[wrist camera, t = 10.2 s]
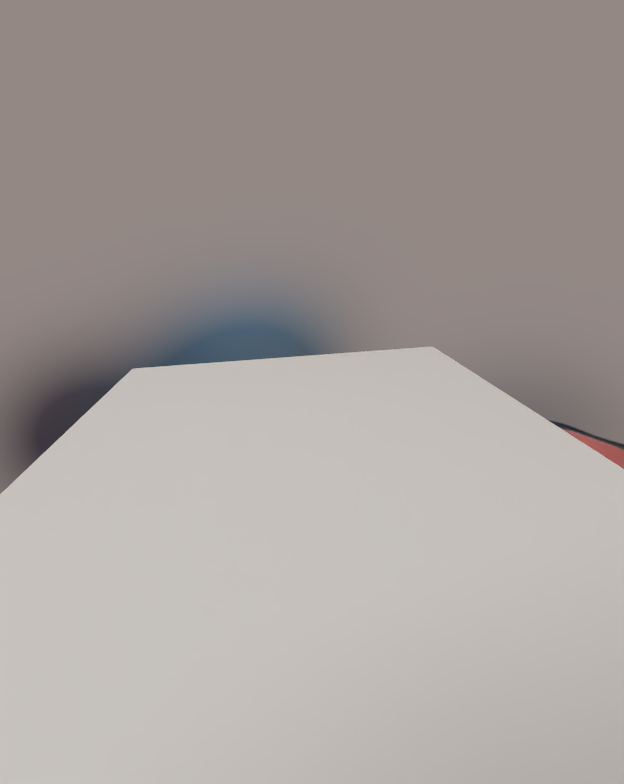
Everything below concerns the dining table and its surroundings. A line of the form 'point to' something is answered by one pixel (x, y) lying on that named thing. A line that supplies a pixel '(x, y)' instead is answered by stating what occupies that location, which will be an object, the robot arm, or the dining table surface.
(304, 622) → the tall off-white cuboid
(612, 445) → the dining table surface
